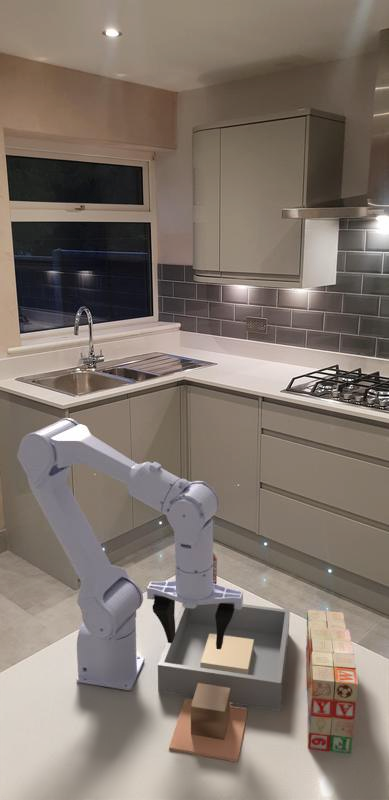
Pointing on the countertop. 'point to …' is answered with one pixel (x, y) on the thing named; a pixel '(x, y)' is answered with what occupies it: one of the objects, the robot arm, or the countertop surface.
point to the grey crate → (228, 654)
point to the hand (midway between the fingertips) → (195, 642)
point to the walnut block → (210, 711)
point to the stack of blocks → (330, 682)
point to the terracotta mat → (206, 745)
